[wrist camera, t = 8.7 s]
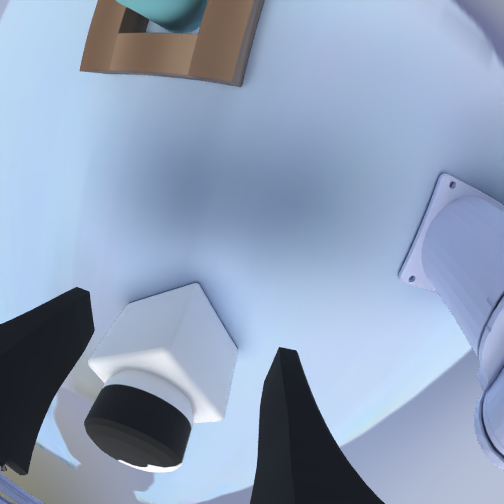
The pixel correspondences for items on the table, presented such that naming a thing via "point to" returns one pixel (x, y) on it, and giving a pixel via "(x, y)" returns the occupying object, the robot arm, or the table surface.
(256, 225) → the table surface
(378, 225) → the table surface
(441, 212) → the robot arm
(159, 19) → the peg
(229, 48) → the socket block
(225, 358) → the medicine bottle
